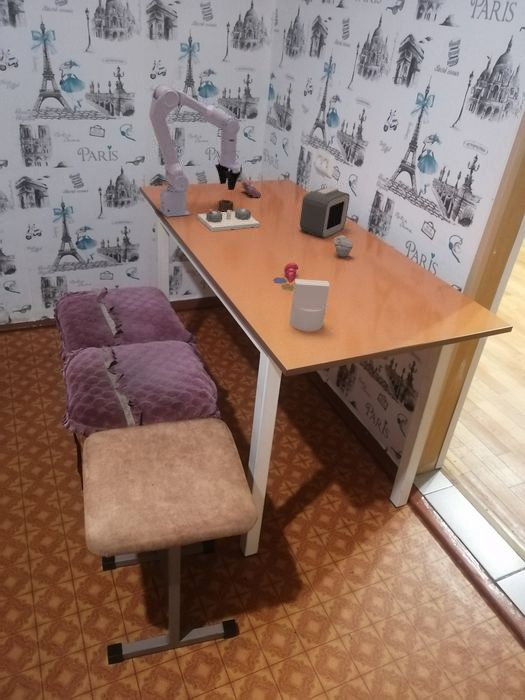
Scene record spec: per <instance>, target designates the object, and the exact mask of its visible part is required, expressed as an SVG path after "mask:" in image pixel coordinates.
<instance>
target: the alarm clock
mask: <svg viewBox="0 0 525 700" xmlns="http://www.w3.org/2000/svg"><path fill="white" fill-rule="evenodd" d="M349 204H350V194H349V193H348V192H347V193H346V192H345V191H344V192H343V191H340V190H339V188H338V187H334V186H332V185H331V186H328V187H322V188H319V189H317V190H313V191H310V192H308V193H307V194H305V195H304V196H303V198H302V204H301V212H300V217H299V218H300V219H299V227H300V229H301V230H302V231H303V232H306V233H307V234H311V235H313V236H317V237H319V238H322V239H326V238H329V237H331V236H334V235H335V234H337V232H338V233H339V231H340V232H342V230H344V228H345V226H346V222H347V217H348V216H347V215H348V210H349V209H348V208H349V206H350V205H349Z"/></svg>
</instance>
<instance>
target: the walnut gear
mask: <svg viewBox="0 0 525 700" xmlns="http://www.w3.org/2000/svg"><path fill="white" fill-rule="evenodd" d="M227 210H233V211H234V201H232V200H230V199H222V200H218V211H220V212H222V211H224V212H225V211H227Z"/></svg>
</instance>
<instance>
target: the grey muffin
mask: <svg viewBox="0 0 525 700" xmlns="http://www.w3.org/2000/svg"><path fill="white" fill-rule="evenodd" d="M333 243H334V244H333V245H334V248H335V252H336V254H337V255H338V256H339V257H341V258H343V257H348V255H350V253H351V251H352V250H353V248H354V244H353V243H352V242H351V240H350V239H349V238H348V237H347V236H345V235H343V234H341V235H337V236H336V237H334V238H333Z"/></svg>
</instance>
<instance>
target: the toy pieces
mask: <svg viewBox="0 0 525 700" xmlns="http://www.w3.org/2000/svg"><path fill="white" fill-rule="evenodd" d="M283 270H284V274H285V276H286V278H287V279H285V278H284V277H279V276H278V277H274V279H273V280H272V281H273V283H274V284H282V285H281V289H282V290H285V291H287V290H288V291H292V292H294V284H292V282H293V281H294V280H295V276H296V275H297V271H298V270H299V265H298V264H297V263H295V262H289V263H288V264H286V265H285V266H284V269H283ZM287 280H288V281H287ZM287 282H289V283H287ZM285 283H286V284H285Z"/></svg>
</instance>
